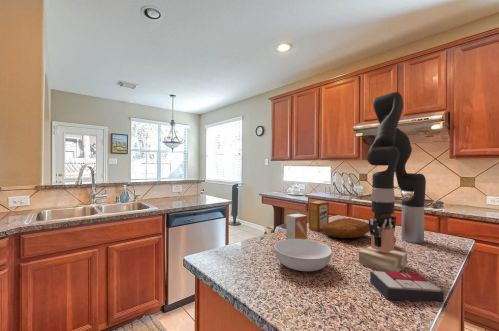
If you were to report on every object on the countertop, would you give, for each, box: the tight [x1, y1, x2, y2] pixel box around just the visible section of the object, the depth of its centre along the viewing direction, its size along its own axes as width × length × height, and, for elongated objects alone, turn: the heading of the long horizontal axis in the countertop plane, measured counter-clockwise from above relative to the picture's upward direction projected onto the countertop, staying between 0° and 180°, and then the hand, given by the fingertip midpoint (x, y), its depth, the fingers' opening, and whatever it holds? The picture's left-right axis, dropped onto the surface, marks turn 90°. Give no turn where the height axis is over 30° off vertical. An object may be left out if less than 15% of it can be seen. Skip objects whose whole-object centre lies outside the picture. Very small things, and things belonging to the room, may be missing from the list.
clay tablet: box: [323, 217, 370, 239], centre depth 125 cm, size 22×17×8 cm
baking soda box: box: [308, 200, 330, 233], centre depth 140 cm, size 10×6×16 cm
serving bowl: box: [273, 239, 333, 272], centre depth 89 cm, size 21×21×7 cm
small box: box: [285, 213, 308, 240], centre depth 116 cm, size 8×6×13 cm
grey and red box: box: [369, 270, 445, 303], centre depth 71 cm, size 11×4×15 cm
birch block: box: [358, 245, 408, 273], centre depth 90 cm, size 12×12×5 cm
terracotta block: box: [370, 226, 395, 253], centre depth 90 cm, size 6×6×8 cm
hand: (382, 244), depth 90 cm, fingers closed on terracotta block, 5 cm apart
